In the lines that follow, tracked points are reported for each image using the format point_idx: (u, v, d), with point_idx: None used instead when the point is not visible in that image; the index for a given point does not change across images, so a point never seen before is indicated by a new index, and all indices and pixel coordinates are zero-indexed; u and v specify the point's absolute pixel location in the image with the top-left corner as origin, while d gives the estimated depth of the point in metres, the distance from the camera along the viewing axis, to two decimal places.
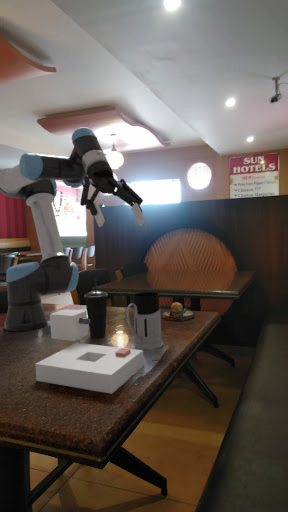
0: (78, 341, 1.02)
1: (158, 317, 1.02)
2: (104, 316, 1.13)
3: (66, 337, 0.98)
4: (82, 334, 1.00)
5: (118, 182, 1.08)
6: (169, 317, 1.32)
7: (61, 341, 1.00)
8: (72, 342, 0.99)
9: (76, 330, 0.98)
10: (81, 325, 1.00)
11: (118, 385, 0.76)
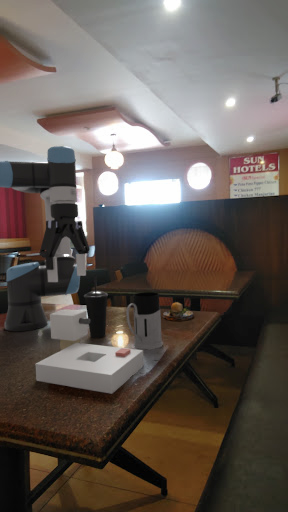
0: (78, 341, 1.02)
1: (158, 317, 1.02)
2: (104, 316, 1.13)
3: (66, 337, 0.98)
4: (82, 334, 1.00)
5: (76, 224, 1.04)
6: (169, 317, 1.32)
7: (61, 341, 1.00)
8: (72, 342, 0.99)
9: (76, 330, 0.98)
10: (81, 325, 1.00)
11: (118, 385, 0.76)
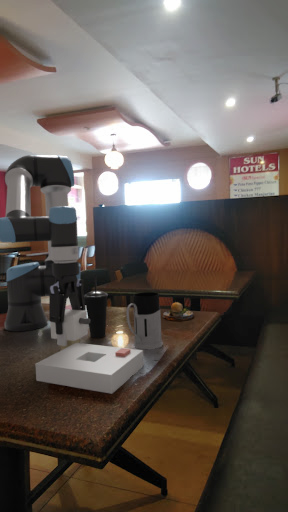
0: (78, 341, 1.02)
1: (158, 317, 1.02)
2: (104, 316, 1.13)
3: None
4: (82, 334, 1.00)
5: (77, 281, 1.05)
6: (169, 317, 1.32)
7: None
8: (72, 342, 0.99)
9: (76, 330, 0.98)
10: (81, 325, 1.00)
11: (118, 385, 0.76)
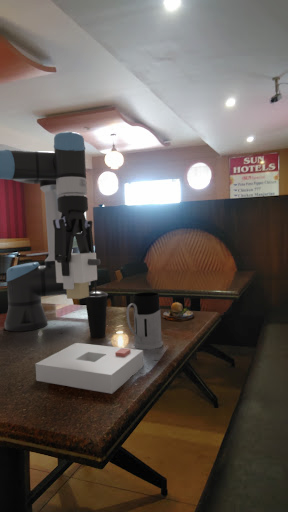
0: (87, 287, 0.91)
1: (158, 317, 1.02)
2: (104, 316, 1.13)
3: None
4: (91, 278, 0.89)
5: (85, 222, 0.94)
6: (169, 317, 1.32)
7: None
8: (80, 286, 0.88)
9: (85, 272, 0.87)
10: (91, 267, 0.89)
11: (118, 385, 0.76)
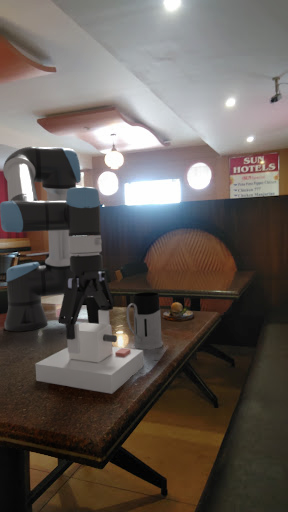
0: None
1: (158, 317, 1.02)
2: None
3: (87, 357, 0.81)
4: (107, 353, 0.83)
5: (99, 276, 0.87)
6: (169, 317, 1.32)
7: None
8: None
9: (101, 350, 0.81)
10: (106, 343, 0.83)
11: (118, 385, 0.76)
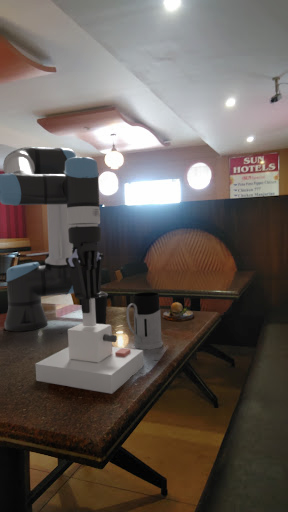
0: None
1: (158, 317, 1.02)
2: (104, 316, 1.13)
3: (87, 357, 0.81)
4: (106, 353, 0.83)
5: (97, 254, 0.87)
6: (169, 317, 1.32)
7: None
8: None
9: (101, 350, 0.81)
10: (106, 343, 0.83)
11: (118, 385, 0.76)
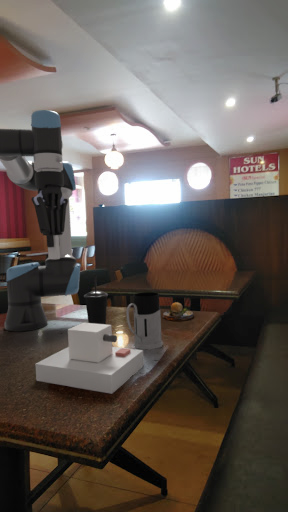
0: None
1: (158, 317, 1.02)
2: (104, 316, 1.13)
3: (87, 357, 0.81)
4: (107, 353, 0.83)
5: (61, 198, 0.99)
6: (169, 317, 1.32)
7: None
8: None
9: (101, 350, 0.81)
10: (106, 343, 0.83)
11: (118, 385, 0.76)
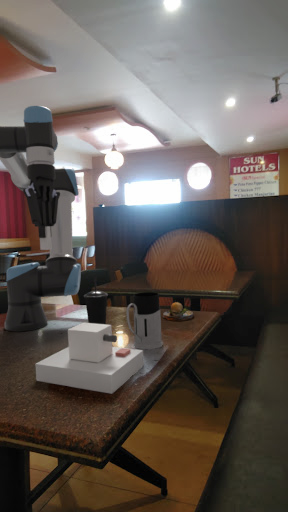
0: None
1: (158, 317, 1.02)
2: (104, 316, 1.13)
3: (87, 357, 0.81)
4: (107, 353, 0.83)
5: (53, 191, 1.03)
6: (169, 317, 1.32)
7: None
8: None
9: (101, 350, 0.81)
10: (106, 343, 0.83)
11: (118, 385, 0.76)
